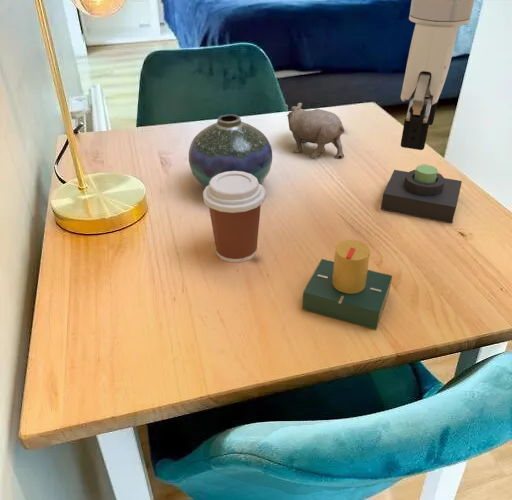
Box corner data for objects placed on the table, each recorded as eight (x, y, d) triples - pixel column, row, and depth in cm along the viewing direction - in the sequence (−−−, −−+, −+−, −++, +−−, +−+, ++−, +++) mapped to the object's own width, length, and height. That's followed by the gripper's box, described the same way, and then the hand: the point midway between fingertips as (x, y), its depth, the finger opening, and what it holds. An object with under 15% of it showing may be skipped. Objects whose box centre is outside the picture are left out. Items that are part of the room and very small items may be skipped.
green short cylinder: (436, 177, 89) (439, 166, 87) (434, 186, 86) (436, 175, 85) (415, 173, 90) (417, 163, 89) (412, 182, 87) (414, 171, 86)
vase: (268, 166, 103) (269, 102, 95) (275, 204, 91) (276, 133, 83) (193, 169, 102) (187, 104, 95) (189, 207, 90) (182, 136, 82)
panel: (389, 291, 70) (393, 273, 69) (376, 331, 64) (379, 312, 62) (320, 274, 74) (322, 256, 72) (301, 310, 67) (302, 292, 66)
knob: (337, 270, 70) (341, 235, 66) (369, 277, 68) (374, 242, 65) (327, 288, 66) (331, 252, 63) (360, 297, 65) (365, 261, 61)
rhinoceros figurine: (330, 159, 99) (307, 86, 99) (289, 177, 111) (268, 111, 110) (357, 152, 104) (335, 82, 103) (315, 170, 115) (295, 106, 114)
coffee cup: (265, 267, 75) (265, 197, 68) (204, 267, 75) (198, 197, 68) (265, 234, 83) (265, 167, 76) (209, 234, 83) (204, 167, 76)
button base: (458, 196, 92) (464, 171, 89) (452, 223, 85) (458, 197, 82) (391, 184, 96) (395, 160, 93) (380, 209, 89) (384, 184, 86)
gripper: (420, -5, 72) (401, 112, 82) (399, 19, 59) (379, 154, 69) (476, -2, 70) (449, 118, 80) (467, 24, 57) (436, 163, 67)
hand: (417, 135), depth 74 cm, fingers open, 9 cm apart
